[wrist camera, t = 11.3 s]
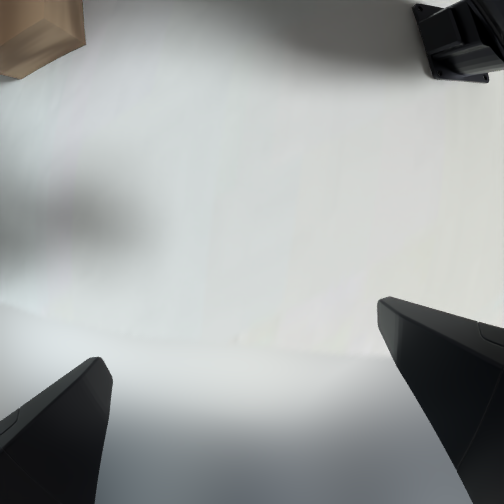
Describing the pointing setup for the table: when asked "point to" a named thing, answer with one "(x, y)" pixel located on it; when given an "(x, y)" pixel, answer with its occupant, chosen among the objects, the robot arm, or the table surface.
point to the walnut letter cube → (38, 33)
